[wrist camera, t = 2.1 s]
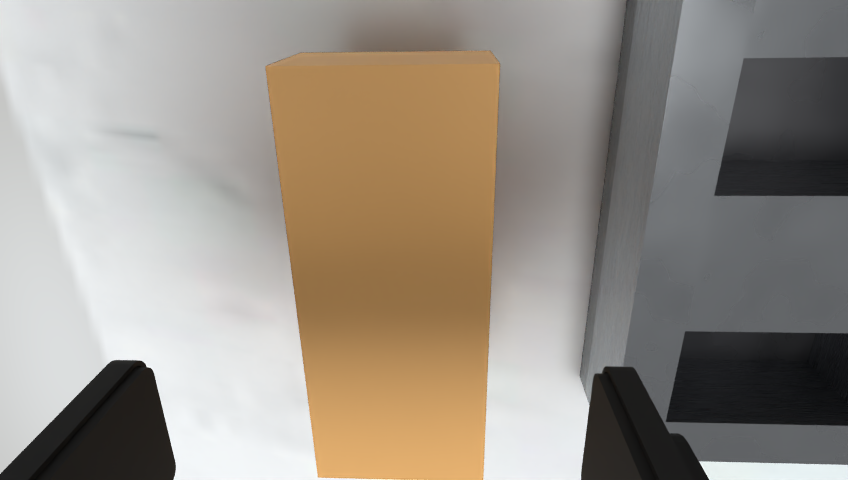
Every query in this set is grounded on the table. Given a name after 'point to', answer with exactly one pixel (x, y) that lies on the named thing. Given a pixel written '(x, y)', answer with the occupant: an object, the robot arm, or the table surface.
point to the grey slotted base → (730, 226)
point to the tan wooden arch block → (391, 253)
